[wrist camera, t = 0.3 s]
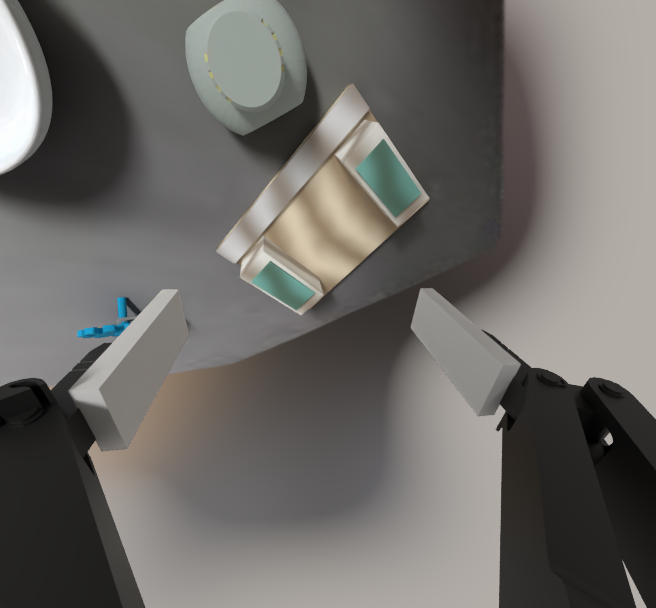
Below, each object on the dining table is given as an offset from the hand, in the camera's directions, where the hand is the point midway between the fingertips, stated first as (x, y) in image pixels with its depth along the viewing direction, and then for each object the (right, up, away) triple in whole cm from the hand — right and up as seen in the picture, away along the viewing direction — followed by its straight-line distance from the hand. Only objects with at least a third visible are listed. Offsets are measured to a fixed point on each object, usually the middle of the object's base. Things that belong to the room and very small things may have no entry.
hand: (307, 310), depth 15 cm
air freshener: (-7, +25, +13) cm, 29 cm away
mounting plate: (0, +12, +24) cm, 27 cm away
